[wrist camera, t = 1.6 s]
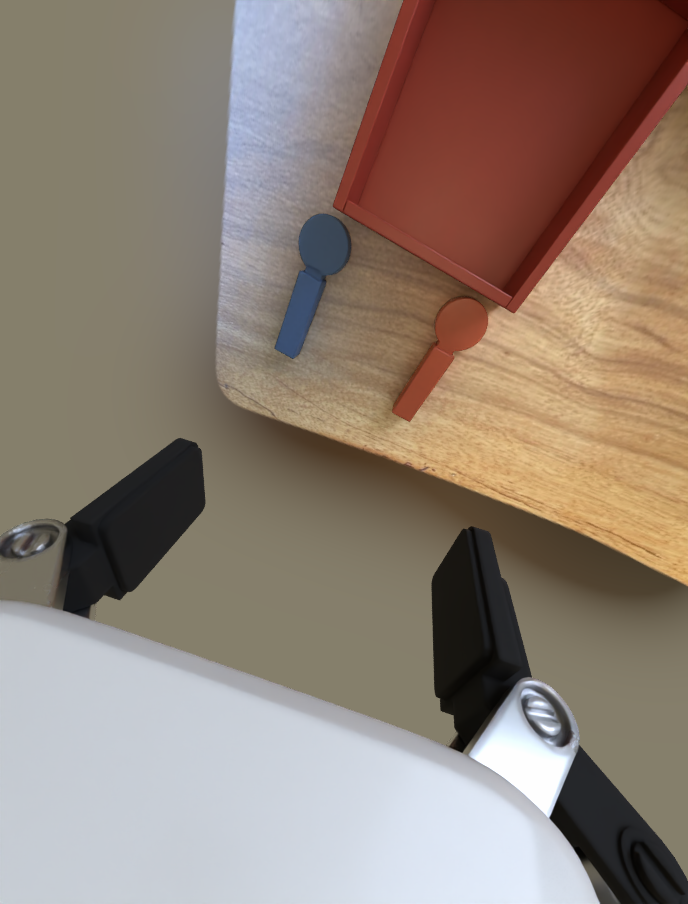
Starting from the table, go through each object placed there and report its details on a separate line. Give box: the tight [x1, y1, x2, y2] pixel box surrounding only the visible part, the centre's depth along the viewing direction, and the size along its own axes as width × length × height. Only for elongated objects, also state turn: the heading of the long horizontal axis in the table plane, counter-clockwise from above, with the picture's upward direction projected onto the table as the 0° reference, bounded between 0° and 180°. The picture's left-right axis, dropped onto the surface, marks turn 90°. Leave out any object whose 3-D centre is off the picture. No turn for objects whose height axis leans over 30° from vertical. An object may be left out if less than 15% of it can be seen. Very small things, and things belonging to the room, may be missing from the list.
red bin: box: [333, 0, 688, 313], centre depth 14 cm, size 11×12×4 cm
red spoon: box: [392, 296, 488, 422], centre depth 22 cm, size 9×3×1 cm, turn 155°
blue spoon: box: [275, 214, 351, 359], centre depth 21 cm, size 9×3×1 cm, turn 155°
